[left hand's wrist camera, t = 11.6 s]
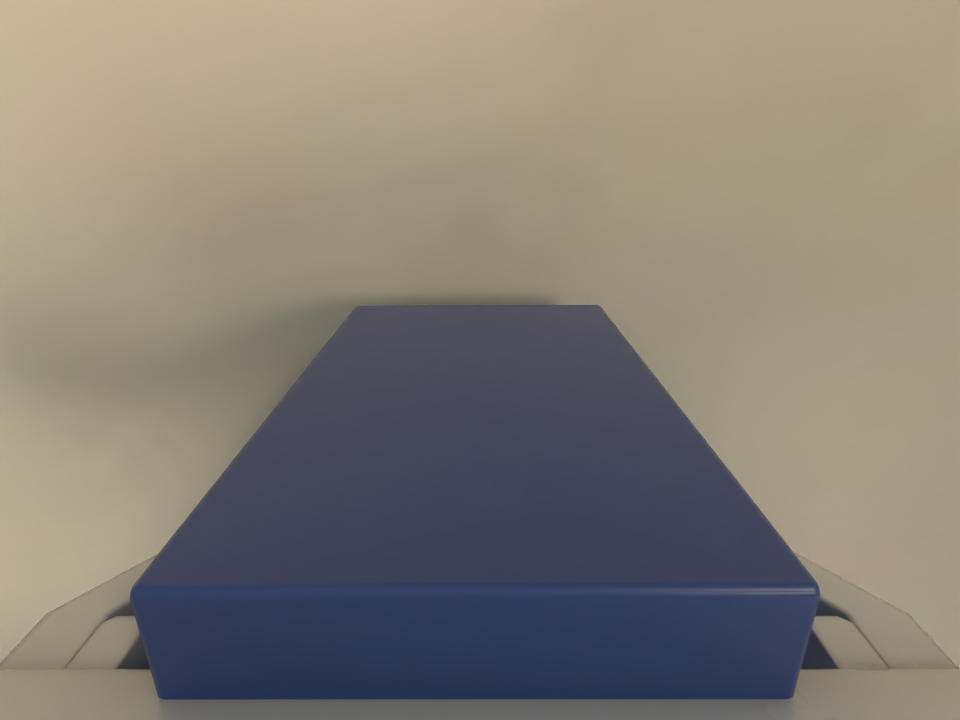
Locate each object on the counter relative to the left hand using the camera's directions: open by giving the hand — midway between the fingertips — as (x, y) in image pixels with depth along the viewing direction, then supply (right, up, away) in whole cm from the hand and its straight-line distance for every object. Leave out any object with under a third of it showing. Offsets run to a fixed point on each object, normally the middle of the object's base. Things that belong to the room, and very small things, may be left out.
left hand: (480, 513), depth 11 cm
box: (0, -6, +7) cm, 9 cm away
